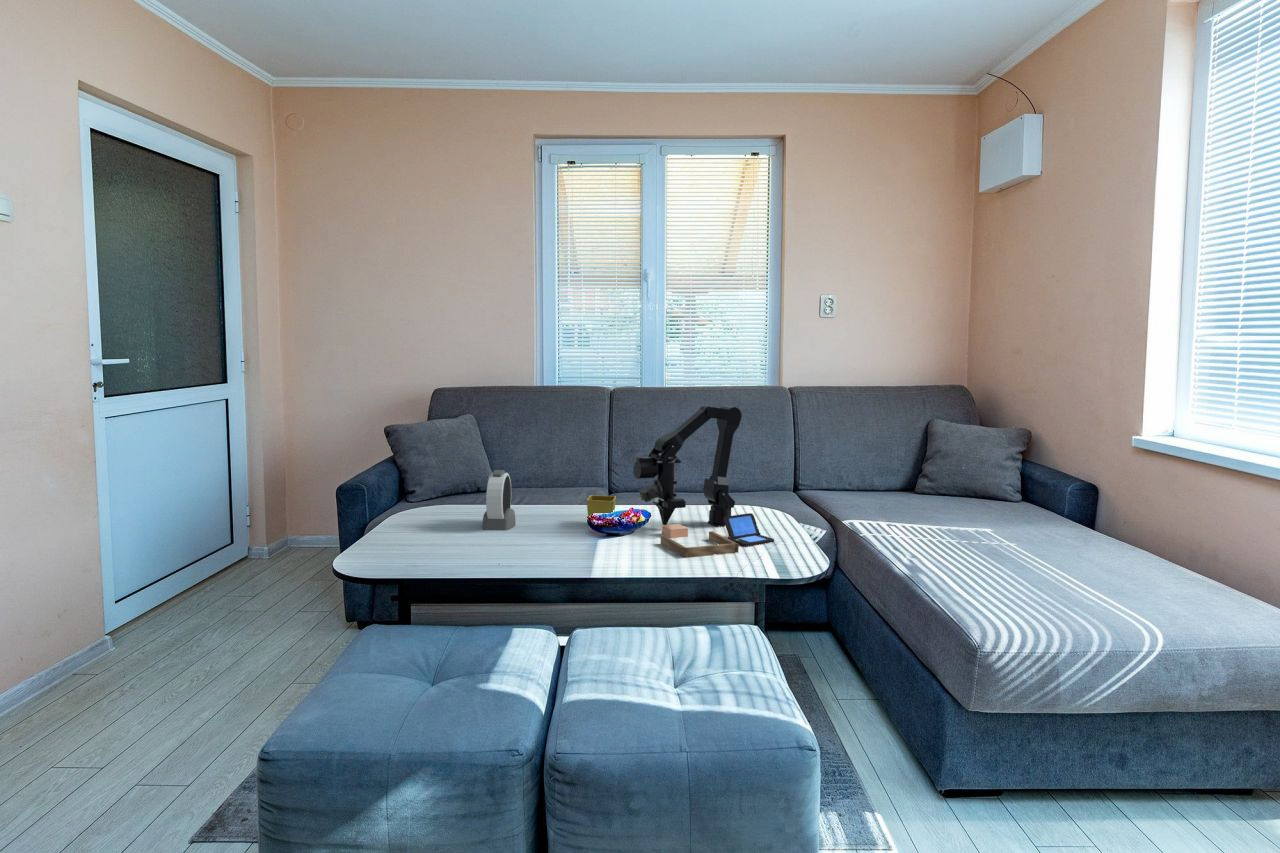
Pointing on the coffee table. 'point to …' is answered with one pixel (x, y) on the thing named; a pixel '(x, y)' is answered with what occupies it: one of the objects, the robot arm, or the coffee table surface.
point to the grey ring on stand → (498, 503)
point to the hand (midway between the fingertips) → (664, 524)
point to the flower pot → (600, 504)
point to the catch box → (722, 548)
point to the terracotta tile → (675, 531)
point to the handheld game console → (745, 530)
